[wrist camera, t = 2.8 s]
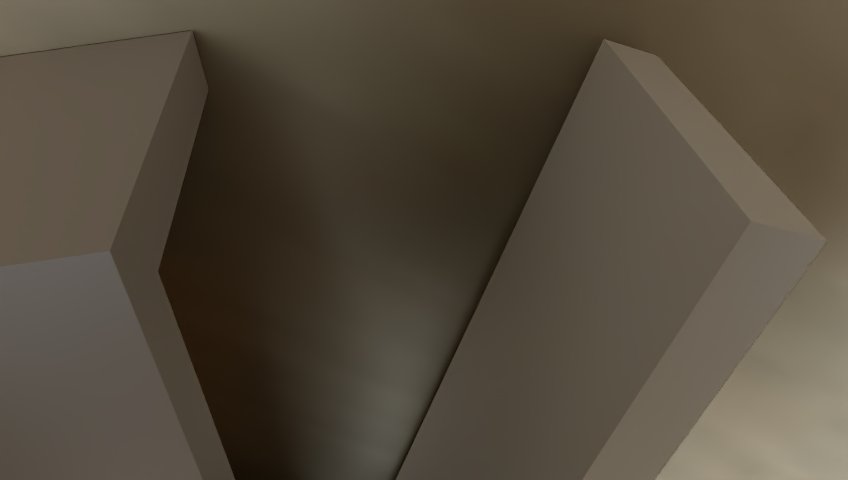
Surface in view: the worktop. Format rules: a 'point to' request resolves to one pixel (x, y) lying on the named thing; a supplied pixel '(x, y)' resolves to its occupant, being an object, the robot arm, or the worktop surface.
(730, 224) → the camera door
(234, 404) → the worktop surface
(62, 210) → the box
